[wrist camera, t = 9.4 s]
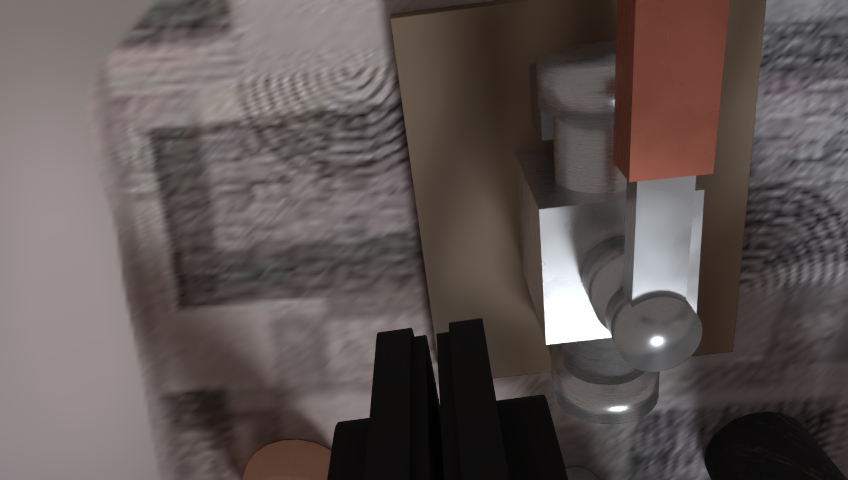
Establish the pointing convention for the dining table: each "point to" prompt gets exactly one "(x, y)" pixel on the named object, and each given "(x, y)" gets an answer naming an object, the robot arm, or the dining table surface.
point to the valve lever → (663, 167)
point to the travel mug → (768, 451)
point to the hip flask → (580, 474)
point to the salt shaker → (289, 462)
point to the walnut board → (514, 132)
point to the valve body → (582, 234)
